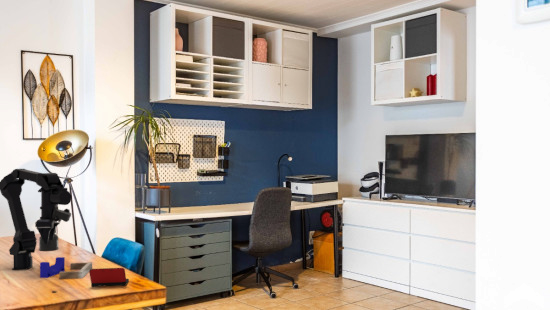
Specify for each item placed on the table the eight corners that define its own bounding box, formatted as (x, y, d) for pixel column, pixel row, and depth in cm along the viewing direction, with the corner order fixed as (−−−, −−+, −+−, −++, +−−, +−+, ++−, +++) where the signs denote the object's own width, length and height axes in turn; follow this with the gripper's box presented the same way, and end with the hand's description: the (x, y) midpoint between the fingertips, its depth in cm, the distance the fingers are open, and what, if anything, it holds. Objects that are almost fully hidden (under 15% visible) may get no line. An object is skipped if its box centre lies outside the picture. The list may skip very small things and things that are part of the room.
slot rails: (59, 279, 214) (59, 272, 214) (71, 268, 233) (71, 262, 233) (82, 278, 215) (82, 271, 215) (92, 268, 234) (92, 262, 234)
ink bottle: (62, 249, 282) (62, 225, 282) (47, 251, 275) (47, 227, 275) (50, 247, 288) (50, 224, 288) (35, 250, 280) (35, 226, 280)
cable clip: (54, 271, 229) (54, 257, 229) (64, 271, 228) (64, 257, 228) (36, 277, 217) (36, 262, 217) (47, 278, 217) (47, 262, 217)
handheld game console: (129, 281, 210) (129, 261, 210) (124, 288, 200) (124, 267, 200) (95, 282, 209) (95, 262, 209) (88, 289, 198) (88, 268, 198)
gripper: (64, 205, 219) (64, 245, 219) (73, 201, 237) (73, 237, 237) (35, 206, 217) (34, 246, 217) (46, 201, 235) (46, 238, 235)
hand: (48, 241), depth 227 cm, fingers open, 9 cm apart
